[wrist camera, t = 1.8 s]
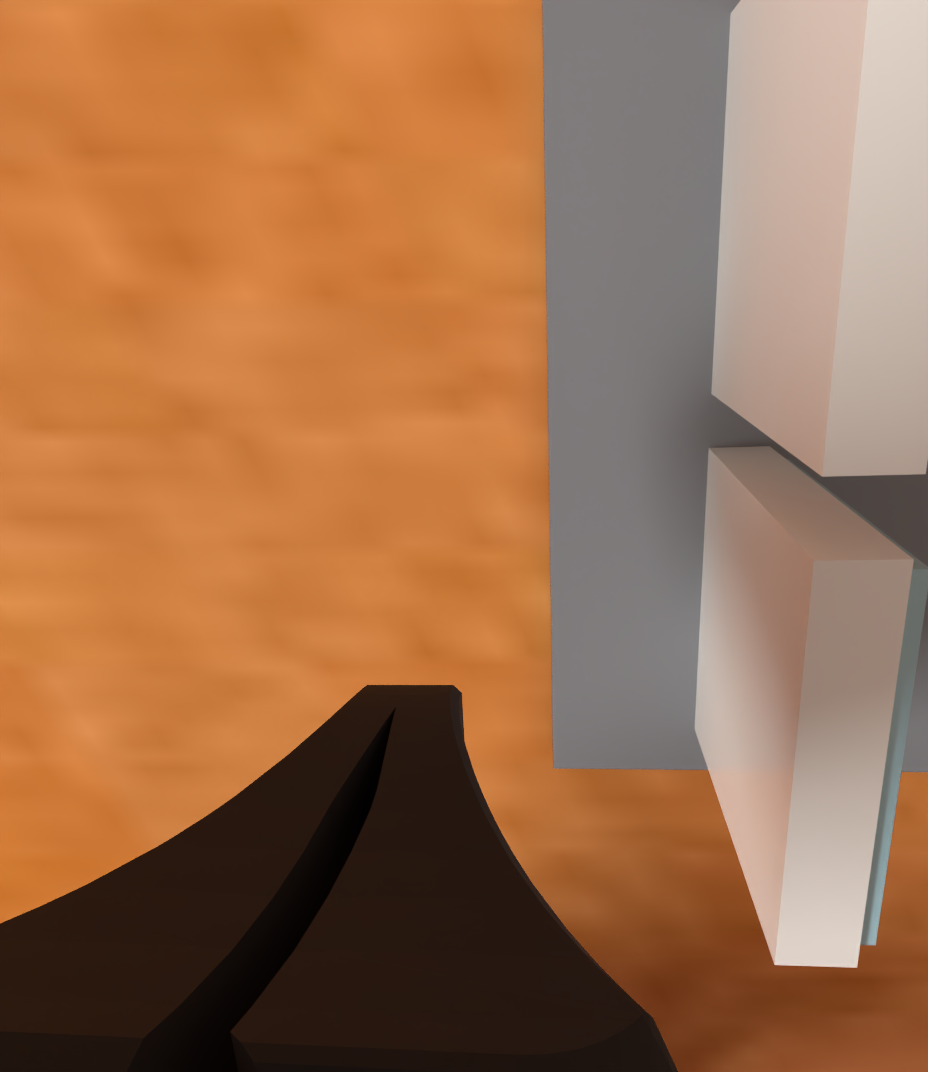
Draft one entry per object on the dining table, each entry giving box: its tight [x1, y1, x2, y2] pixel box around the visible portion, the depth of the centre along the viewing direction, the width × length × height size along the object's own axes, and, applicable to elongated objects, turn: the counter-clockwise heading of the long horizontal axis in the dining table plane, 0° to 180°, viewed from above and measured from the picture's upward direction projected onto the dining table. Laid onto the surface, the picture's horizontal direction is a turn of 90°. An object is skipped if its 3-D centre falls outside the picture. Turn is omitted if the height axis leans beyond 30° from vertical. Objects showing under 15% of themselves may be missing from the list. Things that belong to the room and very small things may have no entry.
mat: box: [542, 0, 928, 772], centre depth 15 cm, size 14×13×1 cm
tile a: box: [695, 446, 928, 968], centre depth 13 cm, size 6×1×6 cm, turn 3°
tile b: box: [711, 0, 928, 477], centre depth 11 cm, size 6×1×6 cm, turn 3°
